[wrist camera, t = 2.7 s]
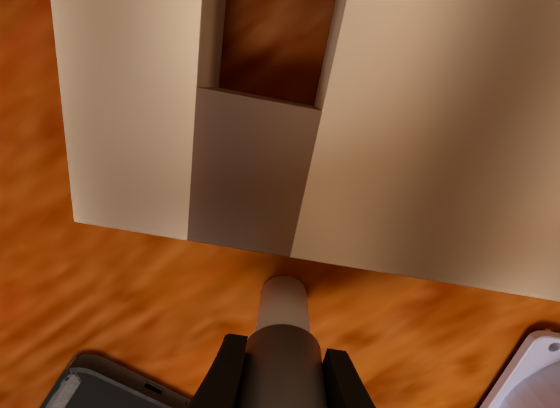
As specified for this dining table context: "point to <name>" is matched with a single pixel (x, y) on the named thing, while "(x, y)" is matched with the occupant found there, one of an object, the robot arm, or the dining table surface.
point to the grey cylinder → (282, 352)
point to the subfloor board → (328, 137)
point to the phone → (107, 387)
